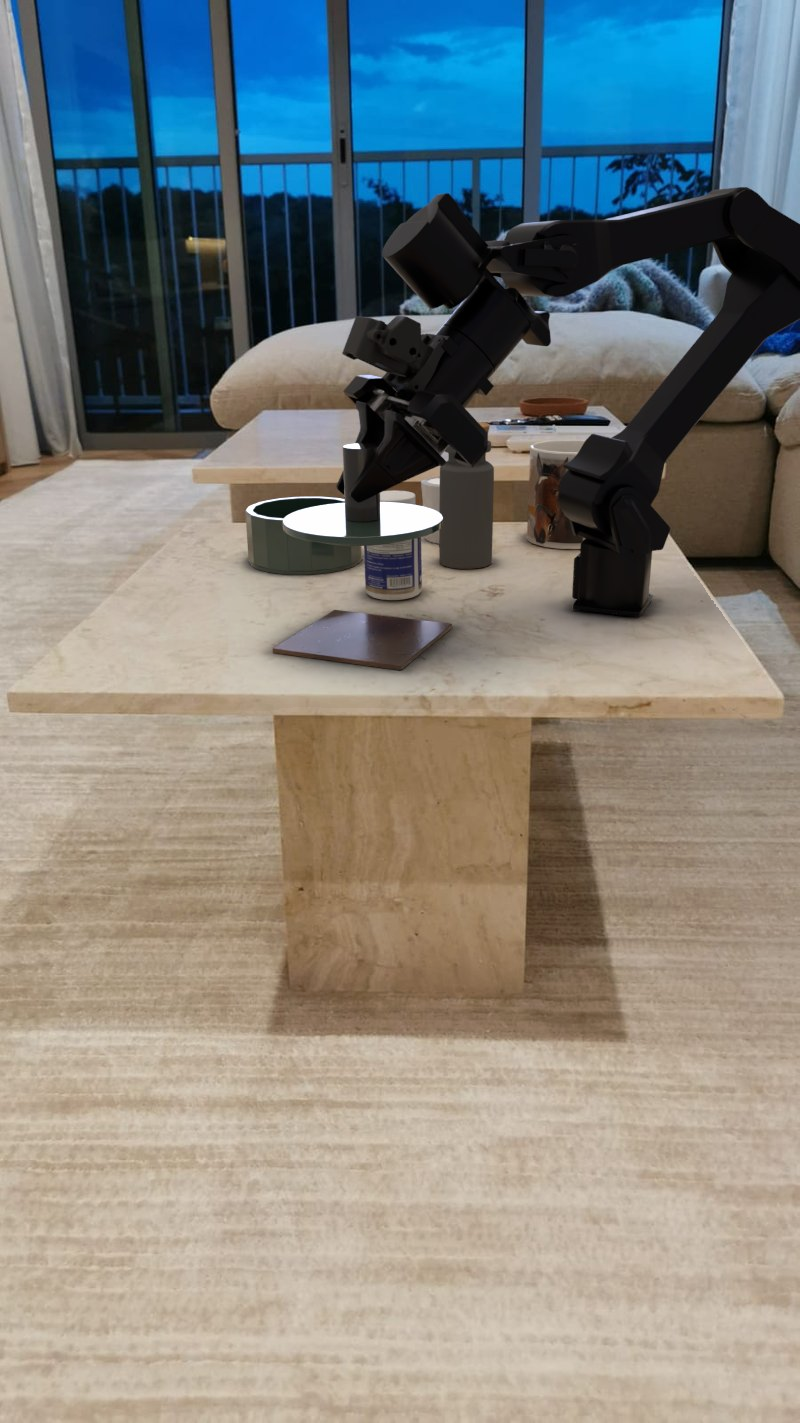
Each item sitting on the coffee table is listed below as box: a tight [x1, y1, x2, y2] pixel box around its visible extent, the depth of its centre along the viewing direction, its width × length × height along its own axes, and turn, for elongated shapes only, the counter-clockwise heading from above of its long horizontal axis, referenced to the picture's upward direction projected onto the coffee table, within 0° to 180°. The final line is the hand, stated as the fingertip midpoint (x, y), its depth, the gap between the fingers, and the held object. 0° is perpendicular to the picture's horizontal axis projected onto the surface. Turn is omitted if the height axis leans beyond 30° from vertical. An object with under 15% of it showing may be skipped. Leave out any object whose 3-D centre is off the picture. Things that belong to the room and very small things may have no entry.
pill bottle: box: [363, 490, 423, 601], centre depth 106 cm, size 6×6×10 cm
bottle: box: [438, 421, 495, 570], centre depth 116 cm, size 6×6×15 cm
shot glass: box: [420, 476, 440, 545], centre depth 128 cm, size 7×7×7 cm
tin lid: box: [282, 443, 443, 547], centre depth 90 cm, size 14×14×7 cm
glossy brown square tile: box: [272, 609, 453, 671], centre depth 95 cm, size 12×12×1 cm
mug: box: [526, 439, 586, 550], centre depth 125 cm, size 10×12×11 cm
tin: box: [244, 496, 363, 576], centre depth 120 cm, size 13×13×6 cm
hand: (346, 495), depth 89 cm, fingers closed on tin lid, 3 cm apart
